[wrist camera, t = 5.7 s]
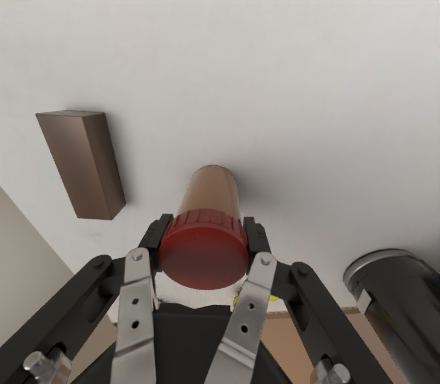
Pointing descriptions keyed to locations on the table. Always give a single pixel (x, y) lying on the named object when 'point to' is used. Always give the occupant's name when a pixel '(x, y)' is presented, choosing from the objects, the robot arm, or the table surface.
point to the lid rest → (84, 161)
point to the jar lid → (204, 249)
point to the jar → (212, 192)
